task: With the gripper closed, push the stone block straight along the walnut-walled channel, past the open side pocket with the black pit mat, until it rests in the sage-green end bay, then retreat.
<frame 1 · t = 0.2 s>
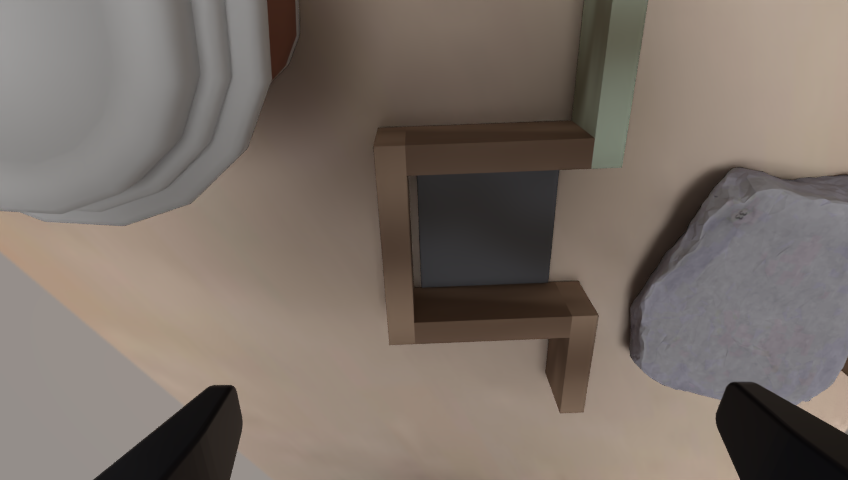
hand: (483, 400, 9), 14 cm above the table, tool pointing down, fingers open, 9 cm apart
coffee cup: (218, 10, 19), on the table
stone block: (722, 270, 25), on the table
channel: (745, 202, 23), on the table
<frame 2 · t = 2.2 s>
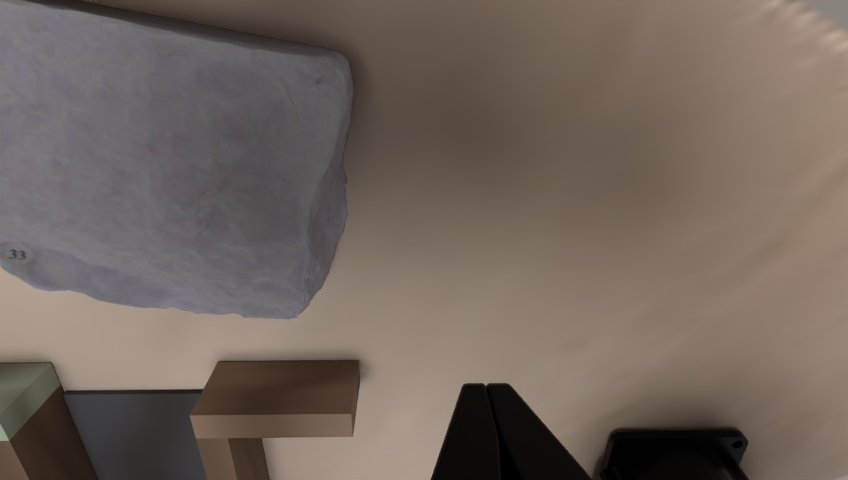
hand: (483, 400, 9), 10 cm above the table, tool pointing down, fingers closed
stone block: (187, 162, 17), on the table
channel: (67, 197, 17), on the table
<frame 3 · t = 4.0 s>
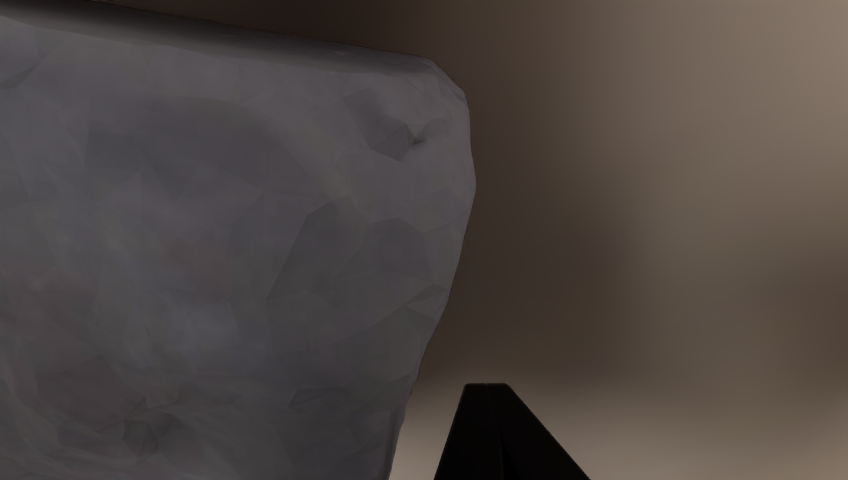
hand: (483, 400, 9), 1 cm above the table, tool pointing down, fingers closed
stone block: (134, 266, 10), on the table, touching gripper
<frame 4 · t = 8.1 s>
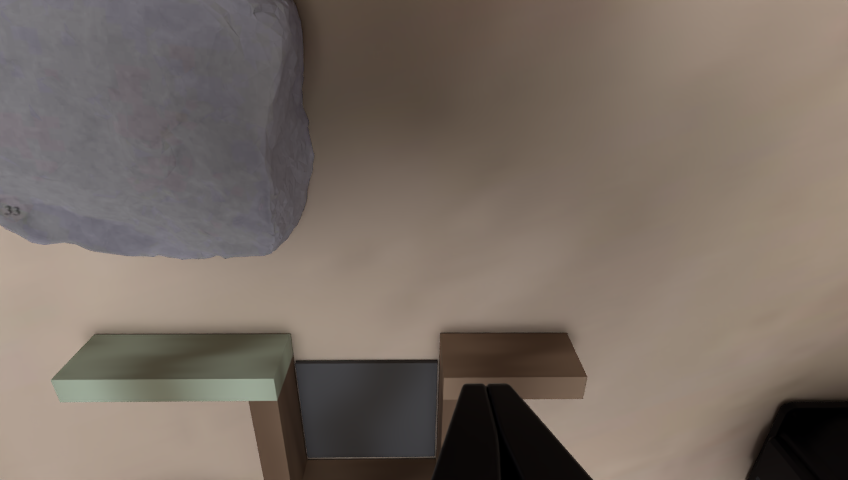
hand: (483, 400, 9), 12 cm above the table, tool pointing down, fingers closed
stone block: (161, 119, 19), on the table, touching channel
channel: (345, 181, 19), on the table
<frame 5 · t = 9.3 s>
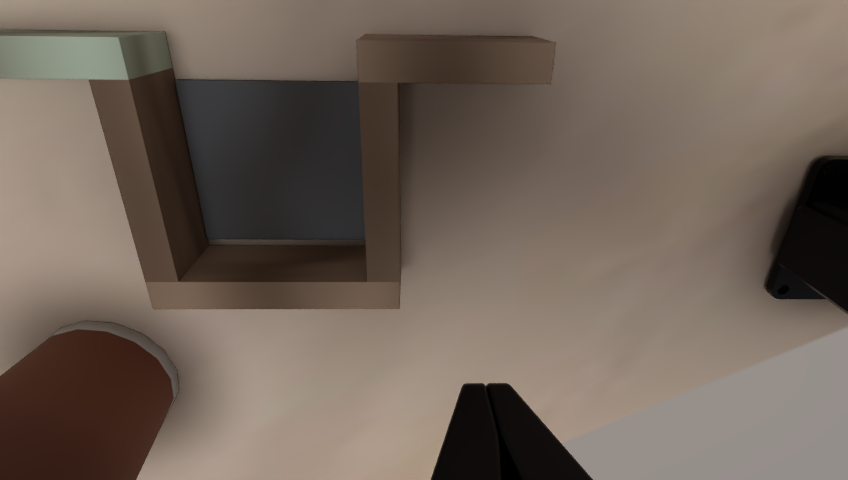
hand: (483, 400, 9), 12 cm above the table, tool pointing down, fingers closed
coffee cup: (113, 372, 24), on the table
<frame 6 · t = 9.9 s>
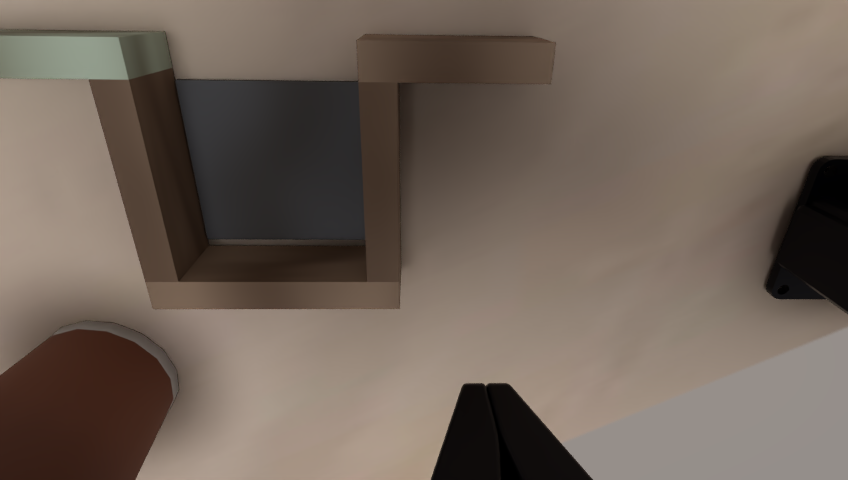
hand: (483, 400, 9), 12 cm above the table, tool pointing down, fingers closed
coffee cup: (113, 371, 24), on the table
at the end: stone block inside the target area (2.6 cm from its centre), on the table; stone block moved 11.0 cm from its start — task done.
